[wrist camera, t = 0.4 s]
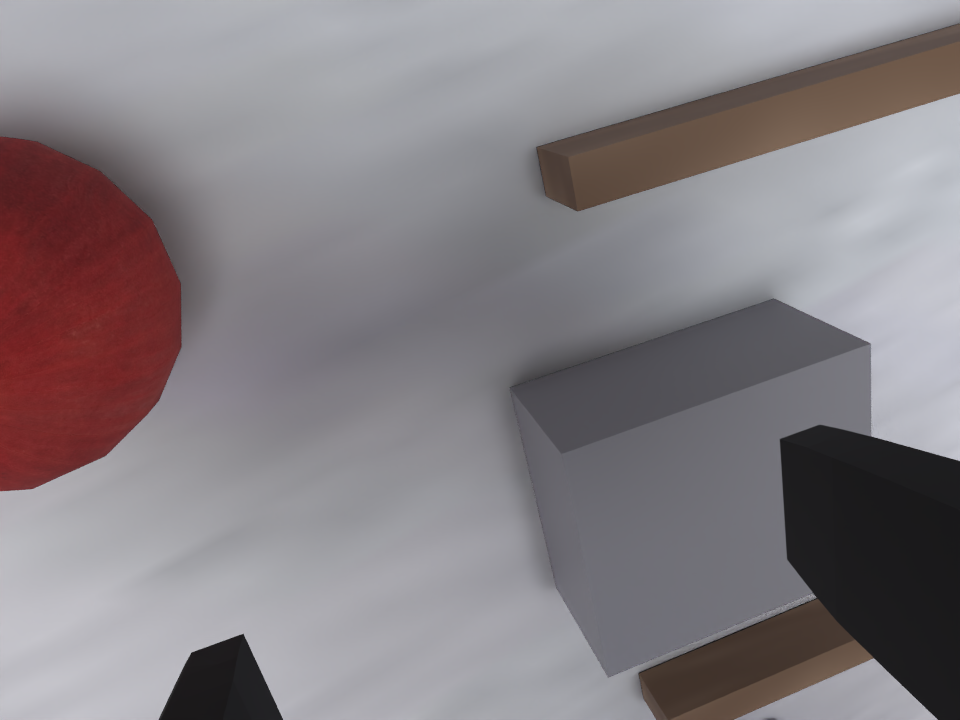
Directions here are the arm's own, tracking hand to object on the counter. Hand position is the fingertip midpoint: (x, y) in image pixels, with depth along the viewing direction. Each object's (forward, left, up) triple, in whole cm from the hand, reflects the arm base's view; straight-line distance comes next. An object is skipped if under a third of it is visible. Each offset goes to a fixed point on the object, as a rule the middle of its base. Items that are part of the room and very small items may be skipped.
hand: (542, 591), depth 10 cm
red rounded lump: (+4, +7, -10) cm, 13 cm away
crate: (-6, -6, -10) cm, 14 cm away
